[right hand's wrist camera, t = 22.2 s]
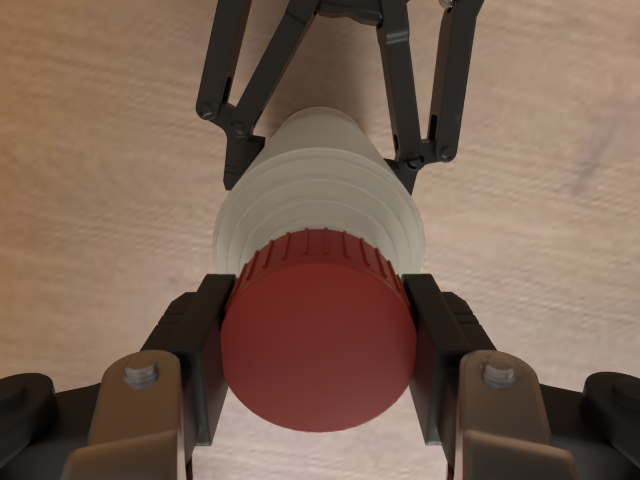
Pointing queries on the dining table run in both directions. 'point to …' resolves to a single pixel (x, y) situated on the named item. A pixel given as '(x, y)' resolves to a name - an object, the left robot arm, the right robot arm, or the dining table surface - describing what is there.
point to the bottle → (319, 194)
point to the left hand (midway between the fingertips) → (306, 251)
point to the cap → (318, 332)
